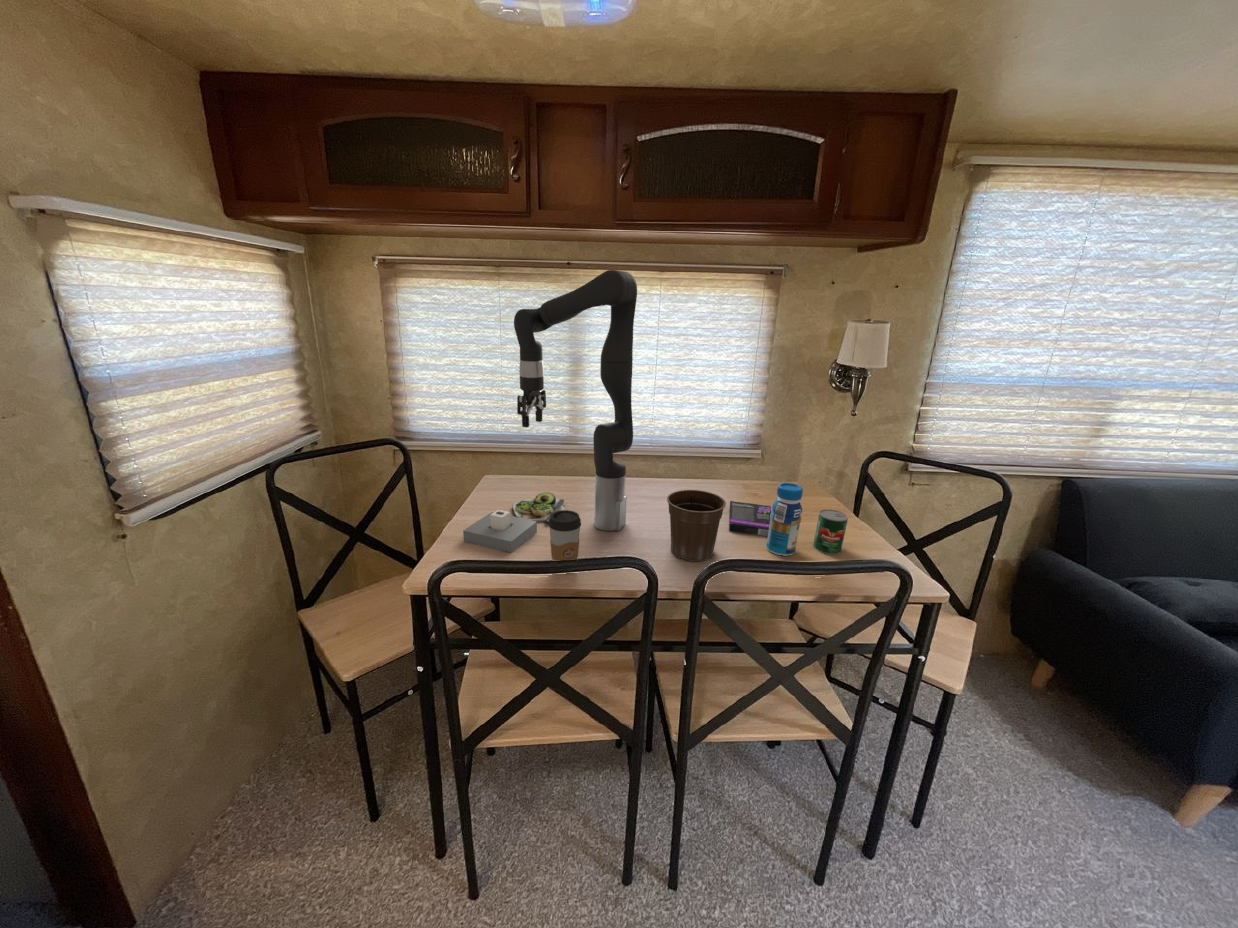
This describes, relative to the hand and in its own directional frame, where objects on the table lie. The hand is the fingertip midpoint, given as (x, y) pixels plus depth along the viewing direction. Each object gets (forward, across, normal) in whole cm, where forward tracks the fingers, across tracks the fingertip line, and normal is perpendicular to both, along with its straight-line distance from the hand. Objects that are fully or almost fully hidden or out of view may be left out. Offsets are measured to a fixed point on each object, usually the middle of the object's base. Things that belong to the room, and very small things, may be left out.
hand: (532, 424), depth 159 cm
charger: (+28, -26, -4) cm, 38 cm away
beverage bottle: (+28, +1, -82) cm, 87 cm away
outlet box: (+28, -26, -4) cm, 38 cm away
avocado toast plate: (+29, -5, -5) cm, 30 cm away
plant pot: (+28, -11, -58) cm, 65 cm away
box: (+29, +18, -72) cm, 79 cm away
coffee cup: (+28, -34, -29) cm, 53 cm away
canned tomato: (+28, +8, -95) cm, 99 cm away
